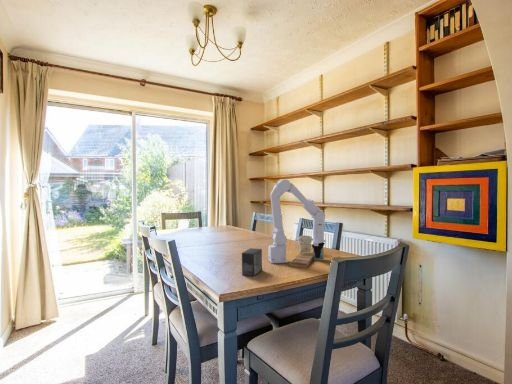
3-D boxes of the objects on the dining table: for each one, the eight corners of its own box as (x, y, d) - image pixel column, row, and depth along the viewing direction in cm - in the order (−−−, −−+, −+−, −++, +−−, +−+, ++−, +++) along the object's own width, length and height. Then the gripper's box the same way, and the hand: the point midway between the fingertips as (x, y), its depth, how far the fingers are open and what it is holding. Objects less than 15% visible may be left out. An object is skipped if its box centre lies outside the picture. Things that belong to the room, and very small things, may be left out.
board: (306, 267, 142) (306, 263, 142) (290, 266, 145) (290, 262, 145) (315, 256, 164) (315, 253, 164) (301, 255, 167) (301, 252, 167)
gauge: (322, 261, 154) (322, 250, 154) (299, 259, 158) (299, 248, 158) (323, 259, 158) (323, 248, 158) (300, 257, 162) (300, 247, 162)
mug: (295, 252, 174) (294, 236, 174) (309, 250, 182) (309, 234, 182) (305, 255, 168) (305, 238, 168) (319, 252, 175) (319, 236, 175)
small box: (250, 269, 141) (249, 247, 141) (262, 270, 139) (262, 248, 138) (241, 275, 131) (241, 252, 131) (254, 276, 129) (254, 253, 129)
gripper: (323, 234, 148) (323, 260, 149) (327, 230, 162) (327, 254, 162) (310, 233, 151) (310, 259, 151) (315, 229, 165) (315, 253, 165)
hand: (318, 256), depth 157 cm, fingers closed on gauge, 4 cm apart
